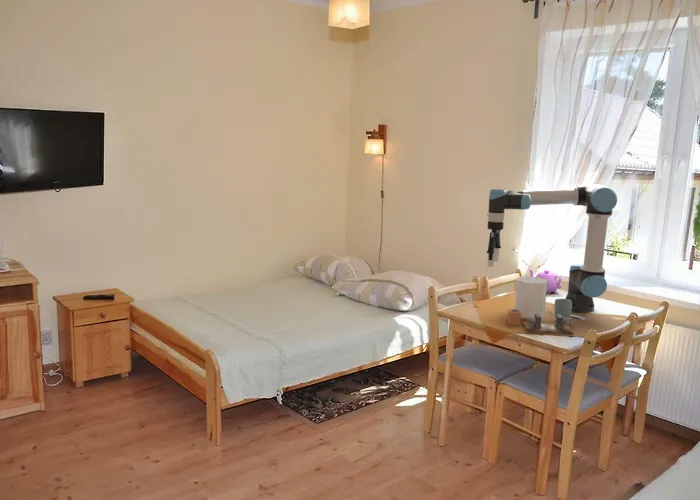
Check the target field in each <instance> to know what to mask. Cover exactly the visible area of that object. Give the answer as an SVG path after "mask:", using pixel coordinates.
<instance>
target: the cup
mask: <svg viewBox="0 0 700 500" xmlns="http://www.w3.org/2000/svg"><path fill="white" fill-rule="evenodd" d="M553 307H554V308H553V315H554V318H555V320H556V314H561V315H562V316H563V318H571V316H572V311H571V310H572V301H571V300H568V299H565V298H556V299H554V306H553Z"/></svg>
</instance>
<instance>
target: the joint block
mask: <svg viewBox="0 0 700 500" xmlns="http://www.w3.org/2000/svg"><path fill="white" fill-rule="evenodd" d="M507 311H508V312H507V322H508V324H509V325H511V326H512V325H514V326H515V325H516V326H521V319H522V317H521V312H520V310H517V309H515V308H512V309H507Z"/></svg>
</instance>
